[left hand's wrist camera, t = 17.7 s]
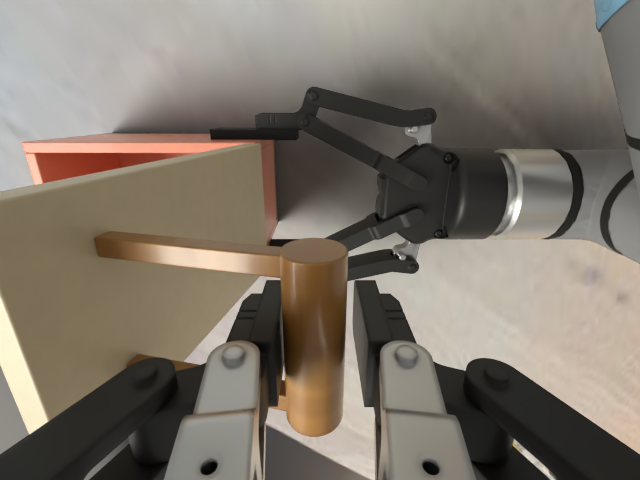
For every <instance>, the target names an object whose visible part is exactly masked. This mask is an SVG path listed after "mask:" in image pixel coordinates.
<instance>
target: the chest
mask: <svg viewBox="0 0 640 480" xmlns="http://www.w3.org/2000/svg"><path fill="white" fill-rule="evenodd" d="M246 143H252V144H260V145H261V160H262V177H263V194H264V211H265V228H266V245H267V246H269V244H270V242H271V239H272V236H273V234H274V231H275V228H276V226H277V224H278V204H277V181H276V158H275V140H211V137H210V133H106V134H98V135H88V136H78V137H68V138H59V139H49V140H39V141H30V142H22V145H23V148H24V152H25V154H26V158H27V161H28V164H29V168H30V171H31V174H32V178H33V181H34V184H35V185H37V184H42V183H47V182H52V181H57V180H62V179H67V178H72V177H78V176H83V175H88V174H93V173H98V172H103V171H108V170H113V169H118V168H123V167H129V166H134V165H139V164H144V163H149V162H154V161H159V160H164V159H169V158H174V157H179V156H185V155H190V154H195V153H200V152H205V151H210V150H215V149H220V148H225V147H230V146H235V145H241V144H246Z"/></svg>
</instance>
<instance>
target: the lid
mask: <svg viewBox="0 0 640 480" xmlns="http://www.w3.org/2000/svg"><path fill="white" fill-rule="evenodd" d="M347 273H348V250H347V248H346V246H344V245H343V244H342V243H339V242H337V241H334V240H330V239H323V238H305V239H299V240H294V241H291V242H289V243H287V244H285V245H283V246H282V247H276V246H267V245H266V228H265V211H264V194H263V177H262V160H261V145H260V144H252V143H246V144H241V145H235V146H230V147H225V148H220V149H215V150H210V151H205V152H200V153H195V154H190V155H185V156H179V157H174V158H169V159H164V160H159V161H154V162H149V163H144V164H139V165H134V166H129V167H123V168H118V169H113V170H108V171H103V172H98V173H93V174H88V175H83V176H78V177H72V178H67V179H62V180H57V181H52V182H47V183H42V184H37V185H32V186H27V187H22V188H16V189H11V190H6V191H1V192H0V365H1V368H2V370H3V372H4V375H5V377H6V380H7V382H8V384H9V387H10V389H11V391H12V394H13V396H14V399H15V401H16V404H17V406H18V408H19V411H20V413H21V416H22V418H23V420H24V423H25V425H26V428H27V430H28V432H29V434H31V433H32V432H34V431H35V430H37V429H38V428H40V427H41V426H43V425H44V424H45V423H47V422H48V421H50V420H51V419H53V418H54V417H56V416H57V415H59V414H60V413H61V412H63V411H64V410H66V409H67V408H69V407H70V406H72V405H73V404H74V403H76V402H77V401H79V400H80V399H82V398H83V397H85V396H86V395H88V394H89V393H90V392H92V391H93V390H95V389H96V388H98V387H99V386H101V385H102V384H104V383H105V382H106V381H108V380H109V379H111V378H112V377H114V376H115V375H117V374H118V373H120V372H121V371H122V370H124V369H125V368H127V367H128V366H130V365H132V364H134V363H136V362H138V361H141V360H144V359H148V358H154V357H161V358H166V359H169V360H170V361H172V362H173V364H174V366H175V371H178V370H182V369H187V368H191V367H195V366H199V365H197V364H192V363H187V362H184V360H185V359H186V358H187V357H188V356H189V355H190V354H191V353H192V352H193V350H194V349H195V348H196V347H197V346H198V345H199V344H200V343H201V341H202V340H203V339H204V338H205V337H206V336H207V335H208V334H209V333H210V331H211V330H212V329H213V328H214V327H215V326H216V325H217V324H218V322H219V321H220V320H221V319H222V318H223V317H224V316H225V315H226V313H227V312H228V311H229V310H230V309H231V308H232V307H233V306H234V305H235V303H236V302H237V301H238V300H239V299H240V298H241V297H242V296H243V294H244V293H245V292H246V291H247V290H248V289H249V288H250V287H251V286H252V284H253V283H254V282H255V281H256V280H257V279H258V278H259V277H260V276H268V277H277V278H281V301H282V323H283V346H284V368H285V381H284V380H282V381H281V387H280V394H279V401H278V407H268V408H273V409H278V410H283V411H286V413H287V419H288V422H289V424H290V425H291V426H292V428H293V429H294V430H296V431H297V432H298V433H300V434H302V435H305V436H310V437H319V436H323V435H326V434H328V433H330V432H332V431H333V430H334V429H336V427H337V426H338V425H339V423H340V422H341V419H342V415H343V391H344V361H345V332H346V303H347Z"/></svg>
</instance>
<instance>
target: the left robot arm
mask: <svg viewBox="0 0 640 480" xmlns="http://www.w3.org/2000/svg"><path fill="white" fill-rule="evenodd" d="M353 334H354V341H355V348H356V354H357V361H358V368H359V374H360V381H361V387H362V394H363V401H364V407H374V411H375V426H374V439H375V480H550V479H549V478H548V477H547V476H546V475H545V474H544V473H543V472H542V471H540V470H539V469H538V468H537V467H536V466H535V465H534V464H533V463H532V462H530V461H529V460H528V459H527V458H526V457H525V456H524V455H523V454H522V453H520V452H519V451H518V450H517V449H516V448H515V447H514V446H513V442H514V439H515V440H516V441H517V442H518V443H519V444H520V445H522V446H523V447H524V448H525V449H526V450H527V451H528V452H530V453H531V454H532V455H533V456H534V457H535V458H536V459H538V460H539V461H540V462H541V463H542V464H543V465H544V466H545V467H547V468H548V469H549V470H550V471H551V472H552V473H553V474H554V476H555V477H556V478H557V480H640V454H638V453H637V452H635V451H634V450H632V449H631V448H629V447H628V446H627V445H625V444H624V443H622V442H621V441H619V440H618V439H616V438H615V437H614V436H612V435H611V434H609V433H608V432H606V431H605V430H603V429H602V428H600V427H599V426H598V425H596V424H595V423H593V422H592V421H590V420H589V419H587V418H586V417H584V416H583V415H582V414H580V413H579V412H577V411H576V410H574V409H573V408H571V407H570V406H568V405H567V404H566V403H564V402H563V401H561V400H560V399H558V398H557V397H555V396H554V395H552V394H551V393H550V392H548V391H547V390H545V389H544V388H542V387H541V386H539V385H538V384H536V383H535V382H534V381H532V380H531V379H529V378H528V377H526V376H525V375H523V374H522V373H520V372H519V371H518V370H516V369H515V368H513V367H511V366H510V365H508V364H506V363H503V362H501V361H498V360H494V359H488V358H479V359H475V360H472V361H471V362H470V363H468V365H467V368H466V371H464V370H459V369H455V368H450V367H446V366H443V365H440V364H437V363H435V362H433V359H432V356H431V355H430V353H429V352H428V351H427V350H426V349H425V348H423V347H422V346H420V345H418V344H417V343H416V341H415V338H414V336H413V334H412V331H411V329H410V326H409V324H408V322H407V319H406V317H405V314H404V312H403V310H402V307H401V305H400V302H399V301H398V300H397V299H396V298H394V297H393V296H392V295H391V294H380V293H379V290H378V287H377V284H376V281H375V280H355V282H354V301H353ZM283 367H284V346H283V323H282V301H281V280H267V281H266V283H265V287H264V290H263V293H262V294H251V295H250V296H248V297H247V298H246V299H245V300H244V301H243V302H242V304H241V307H240V309H239V312H238V314H237V317H236V319H235V322H234V324H233V326H232V329H231V331H230V334H229V336H228V339H227V341H226V343H224V344H222V345H220V346H218V347H217V348H215V349H214V350H213V351H212V352H211V353H210V355H209V356H208V359H207V363H205V364H202V365H199V366H195V367H191V368H187V369H182V370H178V371H175V366H174V364H173V362H172V361H170V360H169V359H166V358H161V357H154V358H148V359H144V360H141V361H138V362H136V363H134V364H132V365H130V366H128V367H127V368H125V369H124V370H122V371H121V372H120V373H118V374H117V375H115V376H114V377H112V378H111V379H109V380H108V381H106V382H105V383H104V384H102V385H101V386H99V387H98V388H96V389H95V390H93V391H92V392H90V393H89V394H88V395H86V396H85V397H83V398H82V399H80V400H79V401H77V402H76V403H74V404H73V405H72V406H70V407H69V408H67V409H66V410H64V411H63V412H61V413H60V414H59V415H57V416H56V417H54V418H53V419H51V420H50V421H48V422H47V423H45V424H44V425H43V426H41V427H40V428H38V429H37V430H35V431H34V432H32V433H31V434H29V435H28V436H27V437H25V438H24V439H22V440H21V441H19V442H18V443H16V444H15V445H13V446H12V447H11V448H9V449H8V450H6V451H5V452H3V453H2V454H0V480H84V478H85V477H86V475H87V474H88V473H89V471H90V470H91V469H92V468H93V467H95V466H96V465H97V464H98V463H99V462H100V461H101V460H102V459H104V458H105V457H106V456H107V455H108V454H109V453H110V452H112V451H113V450H114V449H115V448H116V447H117V446H118V445H120V444H121V443H122V442H123V441H124V440H125V439H126V438H129V442H130V444H128V445H127V446H126V447H125V448H124V449H123V450H122V451H121V452H120V453H118V454H117V455H116V456H115V457H114V458H113V459H112V460H111V461H110V462H108V463H107V464H106V465H105V466H104V467H103V468H102V469H101V470H100V471H98V472H97V473H96V474H95V475H94V476H93V477H92V478H91V479H90V480H265V438H266V426H265V421H266V418H267V413H268V407H278V401H279V394H280V387H281V381H282V374H283Z"/></svg>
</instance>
